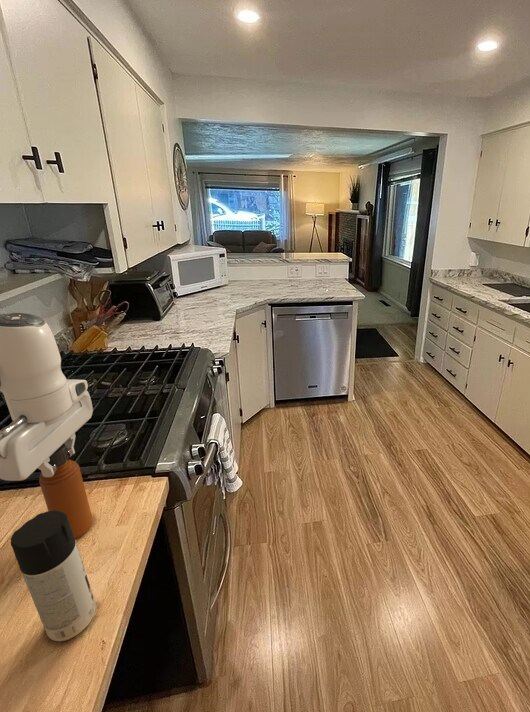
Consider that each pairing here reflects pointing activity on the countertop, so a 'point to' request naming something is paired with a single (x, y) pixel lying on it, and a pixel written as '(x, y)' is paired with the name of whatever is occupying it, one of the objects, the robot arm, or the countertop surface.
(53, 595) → the spray can
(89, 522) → the bottle
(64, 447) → the cap
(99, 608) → the countertop surface
